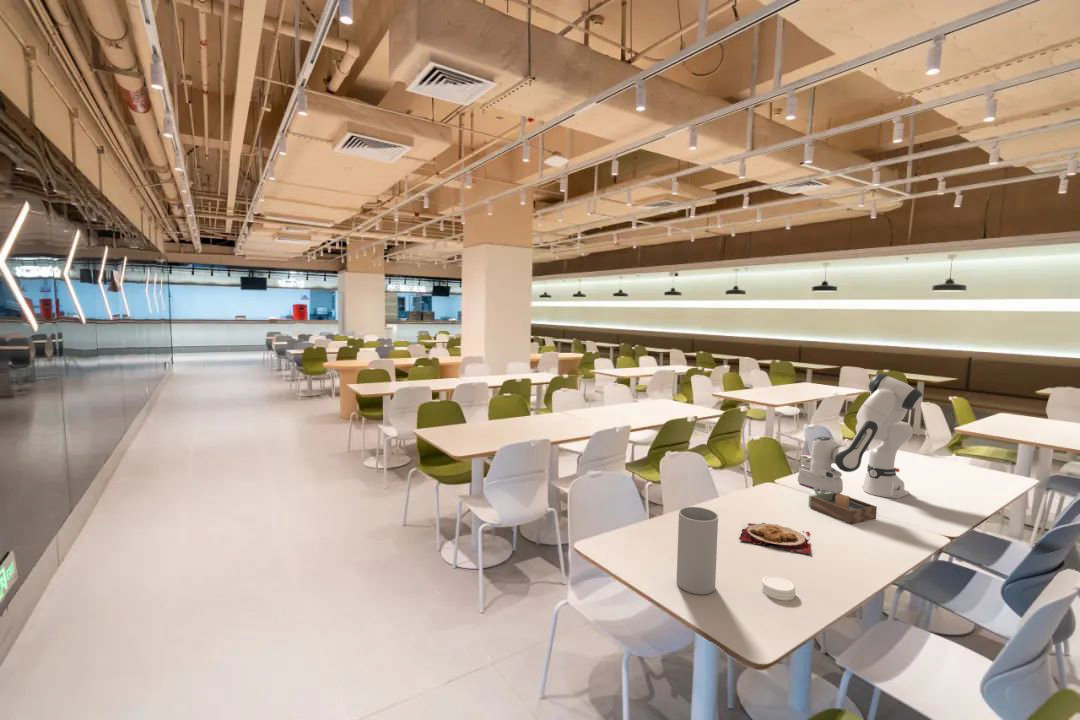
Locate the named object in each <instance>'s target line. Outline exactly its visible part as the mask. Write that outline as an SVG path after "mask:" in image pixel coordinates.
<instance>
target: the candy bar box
mask: <svg viewBox="0 0 1080 720" xmlns="http://www.w3.org/2000/svg"><path fill="white" fill-rule="evenodd" d="M799 458H800V460H799V467H800V466H802V465H805V466H808V467H810V465H811V460H812V455H810V454H801V455H800V457H799ZM798 484H799V485H801V486H804V487H807V488H810V489H813V488H814V487H811V486H808V485H804V484H801V483H799V482H798ZM817 490H818V491H820V489H817Z"/></svg>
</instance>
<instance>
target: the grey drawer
mask: <svg viewBox="0 0 1080 720" xmlns="http://www.w3.org/2000/svg"><path fill="white" fill-rule="evenodd" d="M812 496H814V497H817V498H820V499H822V500H825V501H828V502H830V503H833V504H835V493H832V492H828V491H826V492H823V493H821V494H816V493H814V494H810V495H809V496H808V507H809V508H810V509H811V498H812ZM864 507H865V506H863V505H860V504H857V503H854V502H852V501H849V510H854V509H859V508H864Z"/></svg>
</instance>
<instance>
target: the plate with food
mask: <svg viewBox="0 0 1080 720" xmlns="http://www.w3.org/2000/svg"><path fill="white" fill-rule="evenodd" d="M802 533H805V535H804V534H802ZM802 533H801V532H798V531H797V530H795V529H792V528H789V527H787V526H783V525H780V524H771V523H764V522H762V523H751V522H750V523H749V522H748V523H747V526H746V527H745V528H744V529H741V533H740V536H739V538H738V540H740V541H743V542H745V543H749V542H750V543H753V544H754V545H762V546H766V547H767V546H768V547H770V548H774V546H772V545H771V544H774V545H778V546H781V548H778V549H779V550H783V551H786V552H790V553H801V554H811V543H809V541H810V540H811V539H810V537H811V536H810V535H811V534H810V533H811V532H810V531H806V532H805V531H804V530H803V531H802ZM807 537H808V538H807ZM799 550H800V551H799Z"/></svg>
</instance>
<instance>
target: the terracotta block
mask: <svg viewBox="0 0 1080 720" xmlns="http://www.w3.org/2000/svg"><path fill="white" fill-rule="evenodd" d="M849 497H850V496H849V495H846V494H842V493H840V494H837V495H836V496H835V504H836V505H838V506H841V507H843V508H846V509H849Z"/></svg>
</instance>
